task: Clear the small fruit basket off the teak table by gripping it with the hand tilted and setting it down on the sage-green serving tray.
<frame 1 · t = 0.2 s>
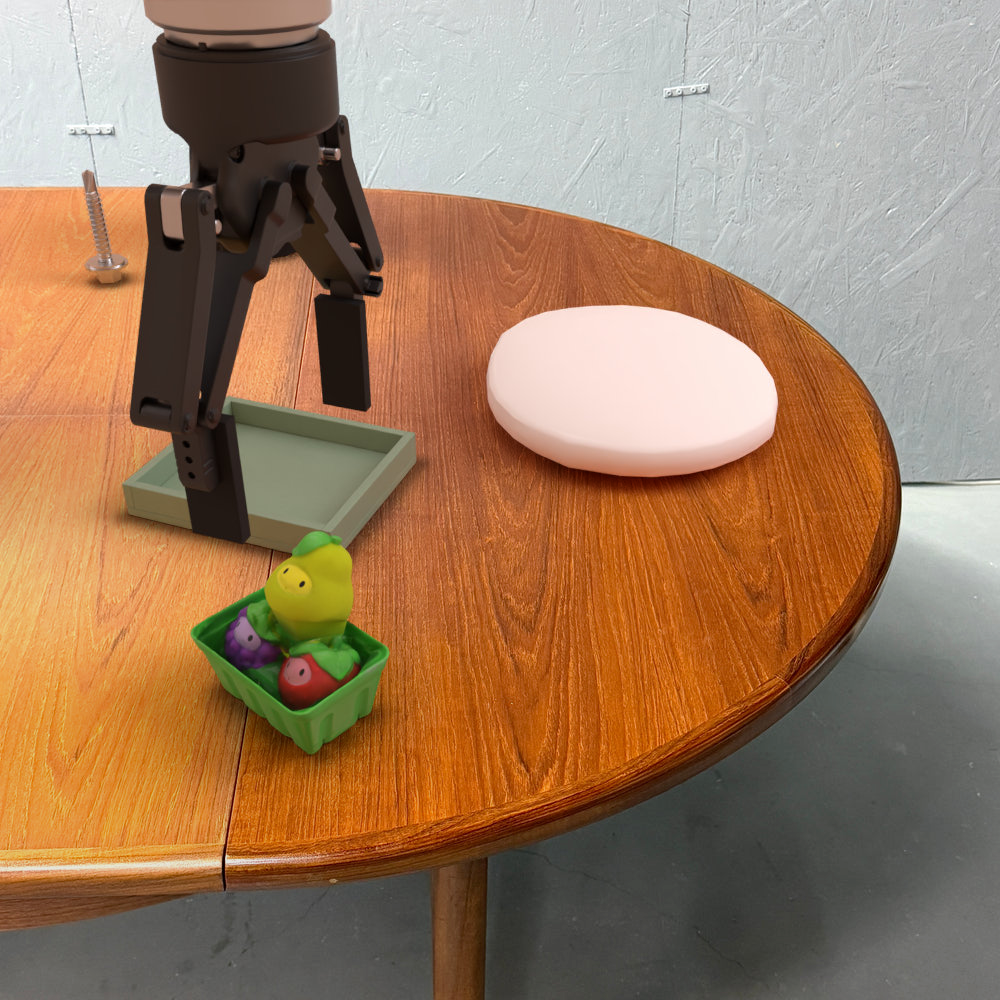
hand: (290, 464, 56), 20 cm above the table, tool pointing down, fingers open, 13 cm apart
fruit basket: (304, 697, 70), on the table
tray: (278, 487, 90), on the table
dark brown tall vessel: (259, 243, 137), on the table
pale pink round cushion: (624, 413, 102), on the table
screw: (110, 281, 127), on the table
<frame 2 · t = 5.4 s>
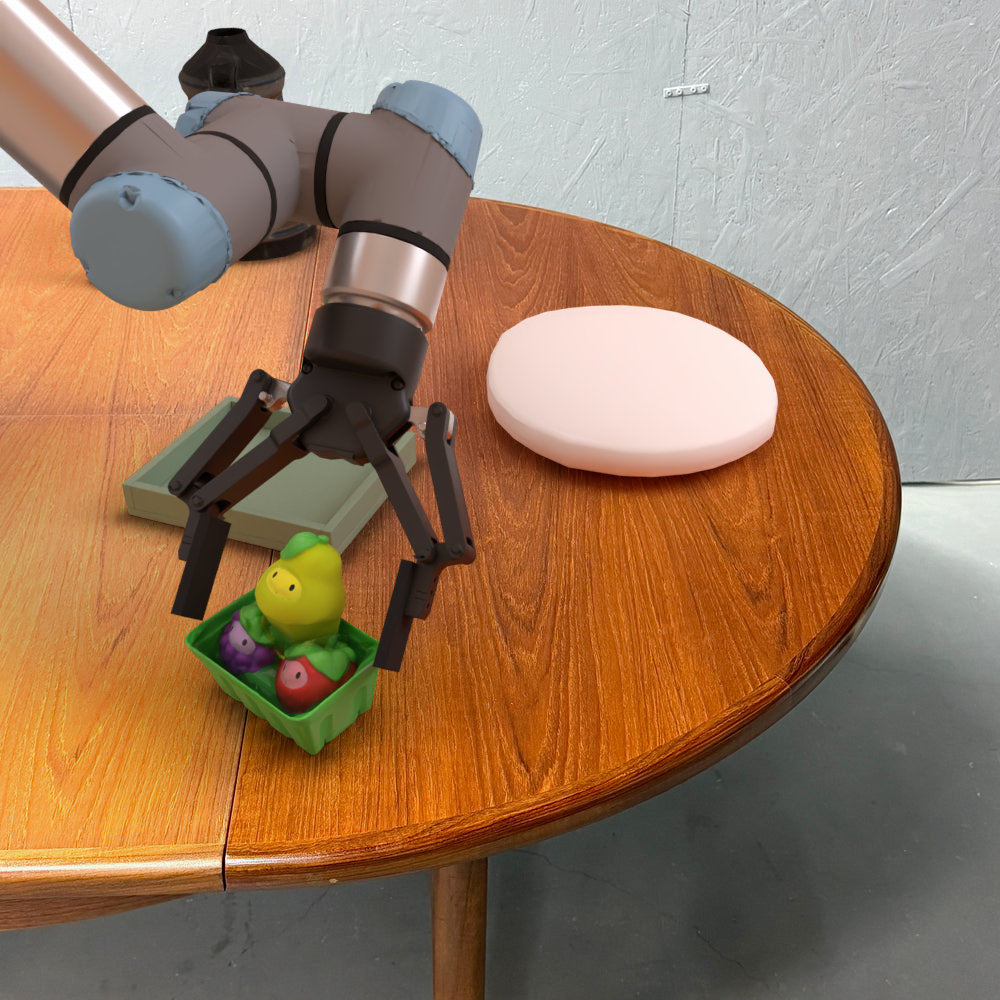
hand: (283, 644, 66), 6 cm above the table, tool tilted 45°, fingers open, 13 cm apart
fruit basket: (303, 695, 70), on the table, touching gripper
everything else where it was.
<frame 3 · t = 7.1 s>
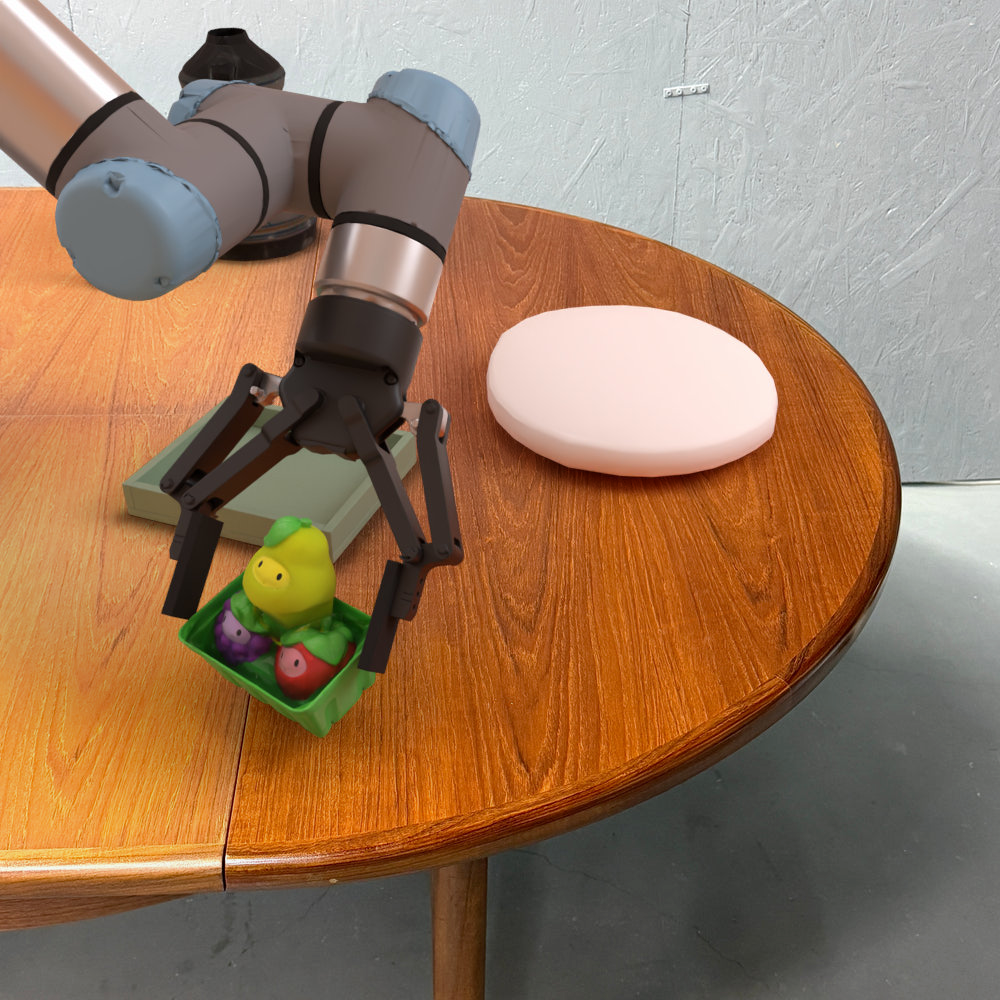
hand: (271, 644, 65), 6 cm above the table, tool tilted 45°, fingers closed on fruit basket, 12 cm apart
fruit basket: (306, 675, 69), point 2 cm above the table, touching gripper
everything else where it was.
when the fingers open (6 cm above the table, at t = 15.9 s): fruit basket stays where it is, resting on tray.
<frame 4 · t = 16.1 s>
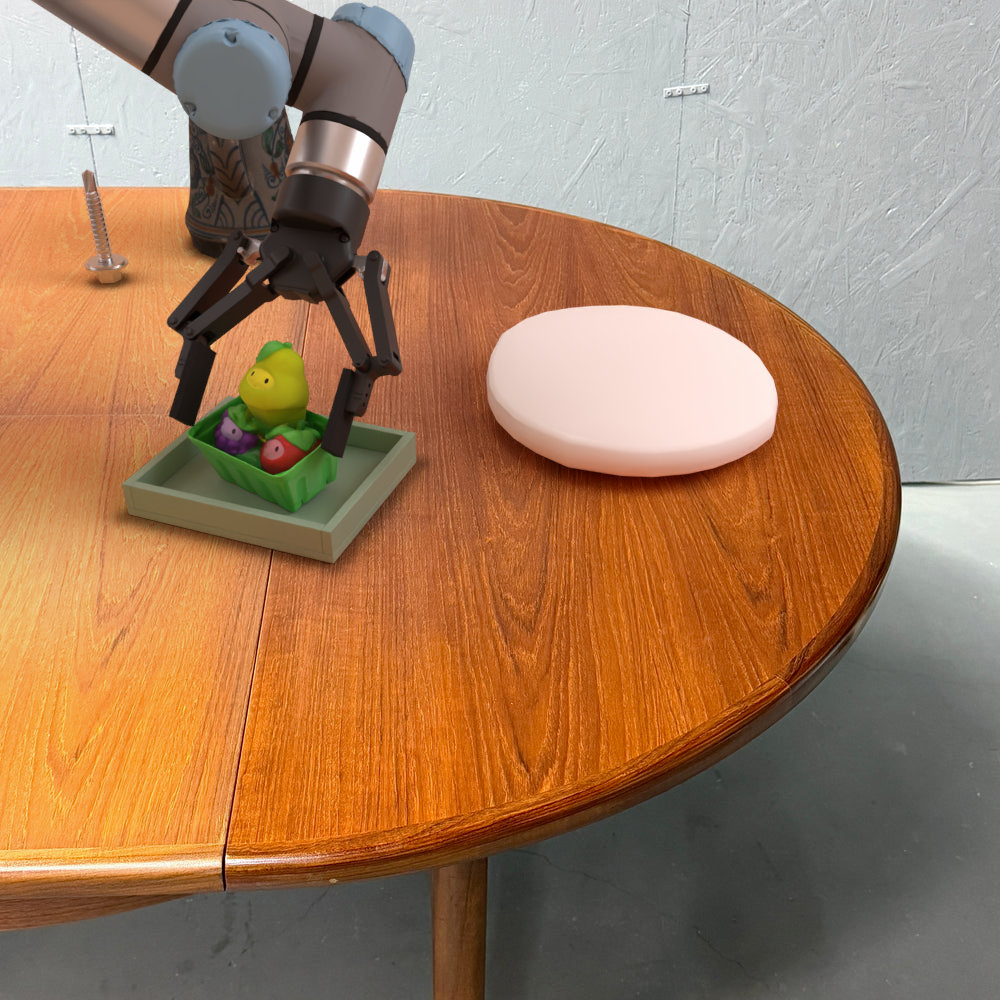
hand: (254, 437, 85), 6 cm above the table, tool tilted 45°, fingers open, 13 cm apart
fruit basket: (283, 476, 90), point 1 cm above the table, touching gripper, tray
everything else where it was.
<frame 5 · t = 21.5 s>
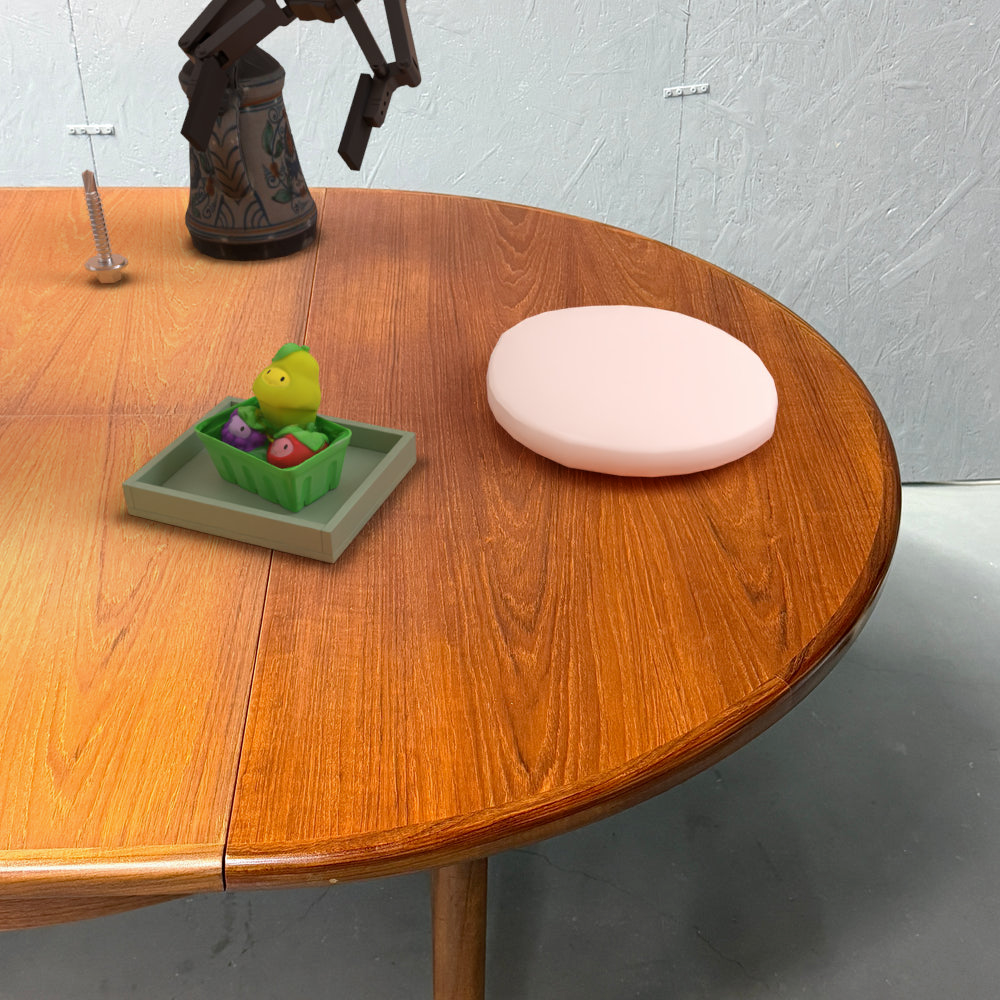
hand: (268, 152, 83), 26 cm above the table, tool tilted 45°, fingers open, 13 cm apart
fruit basket: (284, 481, 90), point 1 cm above the table, touching tray
everything else where it was.
at the end: fruit basket inside the target area in the tray (0.6 cm from its centre), point 0.6 cm above the tray's base; fruit basket tilted 0°; the gripper is holding nothing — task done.
